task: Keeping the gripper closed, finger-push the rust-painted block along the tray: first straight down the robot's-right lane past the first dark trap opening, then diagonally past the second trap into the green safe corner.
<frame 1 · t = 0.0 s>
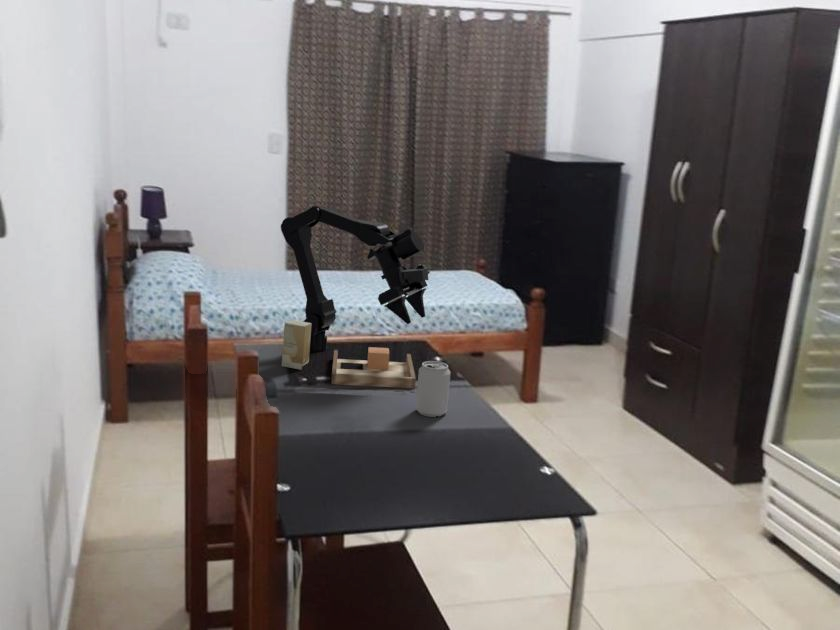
hand: (416, 320, 228), 15 cm above the table, tool tilted 35°, fingers open, 9 cm apart
can: (431, 413, 203), on the table
skincare box: (295, 367, 230), on the table
tray: (372, 377, 226), on the table
rust block: (377, 366, 231), point 1 cm above the table, touching tray
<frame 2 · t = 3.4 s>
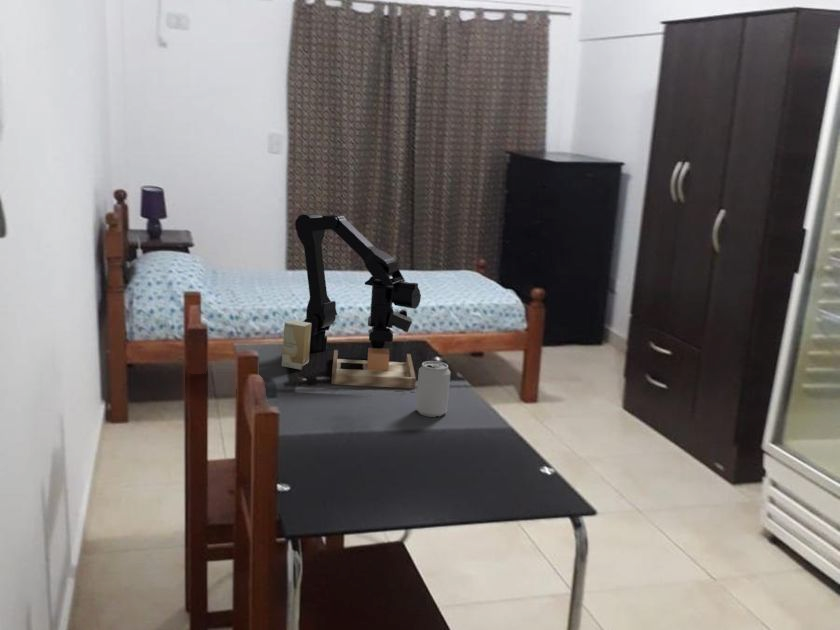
hand: (378, 358, 235), 2 cm above the table, tool pointing down, fingers closed
rust block: (377, 367, 231), point 1 cm above the table, touching tray, gripper
everything else where it was.
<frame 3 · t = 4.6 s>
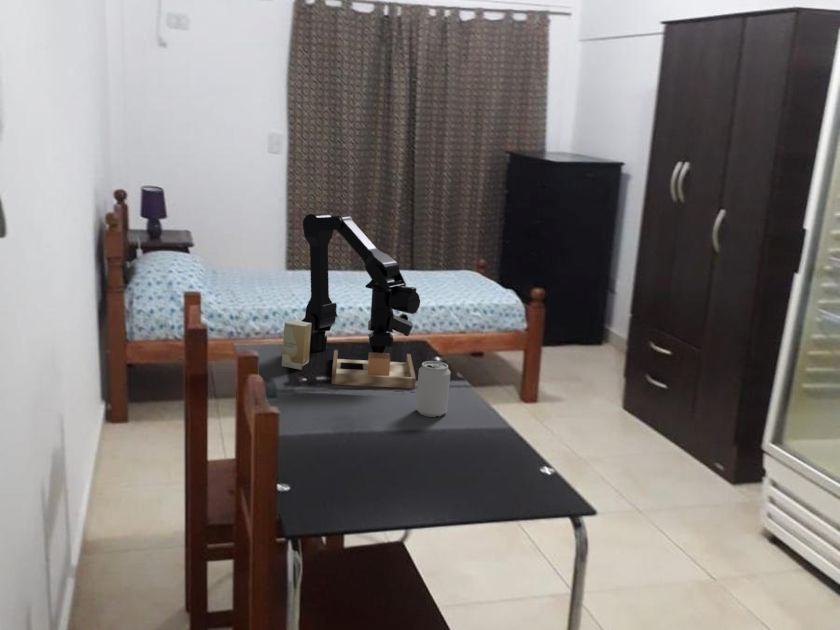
hand: (378, 362, 231), 2 cm above the table, tool pointing down, fingers closed
rust block: (378, 371, 227), point 1 cm above the table, touching tray, gripper
everything else where it was.
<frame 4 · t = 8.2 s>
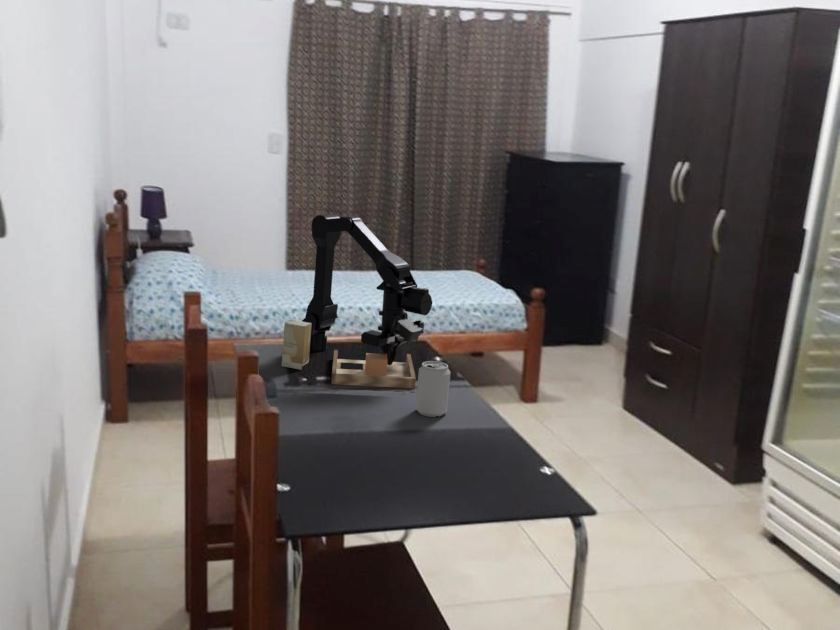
hand: (389, 364, 230), 2 cm above the table, tool pointing down, fingers closed
rust block: (375, 372, 226), point 1 cm above the table, touching gripper
everything else where it was.
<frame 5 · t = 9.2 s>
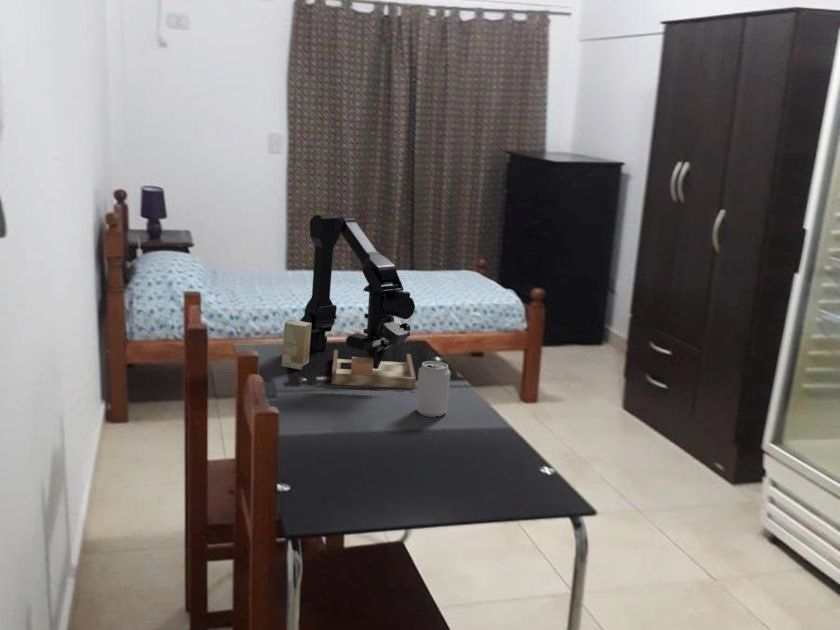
hand: (375, 368, 225), 2 cm above the table, tool pointing down, fingers closed
rust block: (361, 377, 221), point 1 cm above the table, touching tray, gripper
everything else where it was.
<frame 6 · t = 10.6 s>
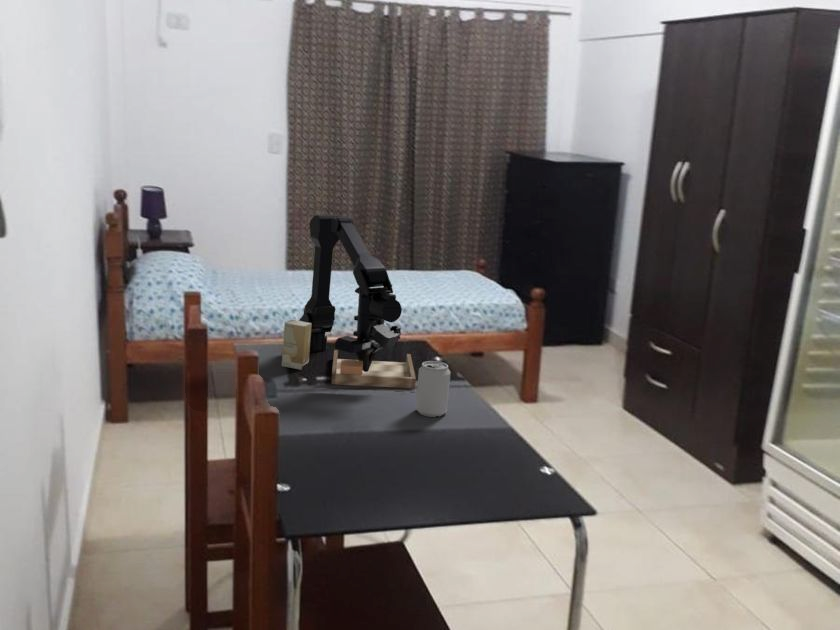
hand: (365, 371, 222), 2 cm above the table, tool pointing down, fingers closed
rust block: (350, 380, 218), point 1 cm above the table, touching tray, gripper
everything else where it was.
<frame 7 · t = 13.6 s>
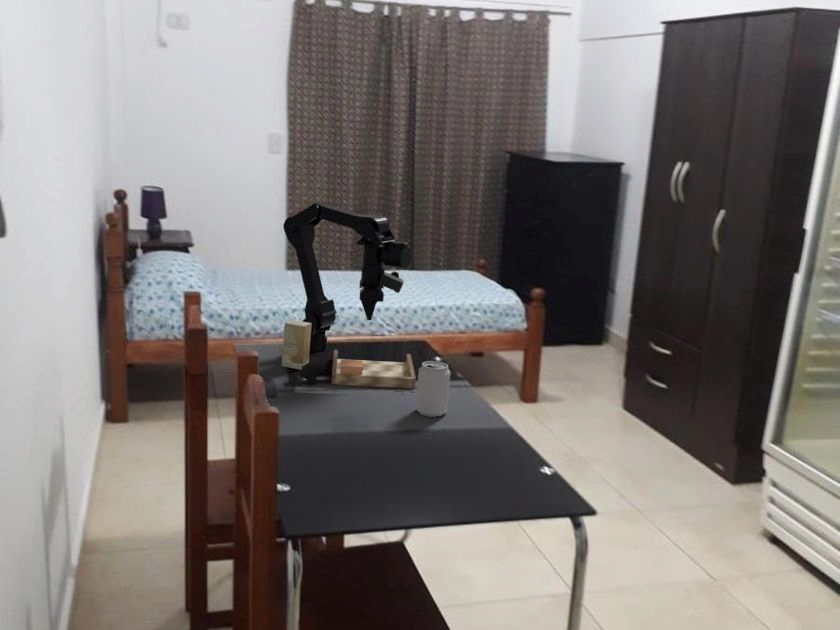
hand: (369, 319, 232), 13 cm above the table, tool pointing down, fingers closed
rust block: (350, 380, 218), point 1 cm above the table, touching tray
everything else where it was.
at the end: rust block inside the target area (1.3 cm from its centre), point 1.2 cm above the table; rust block tilted 0° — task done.
